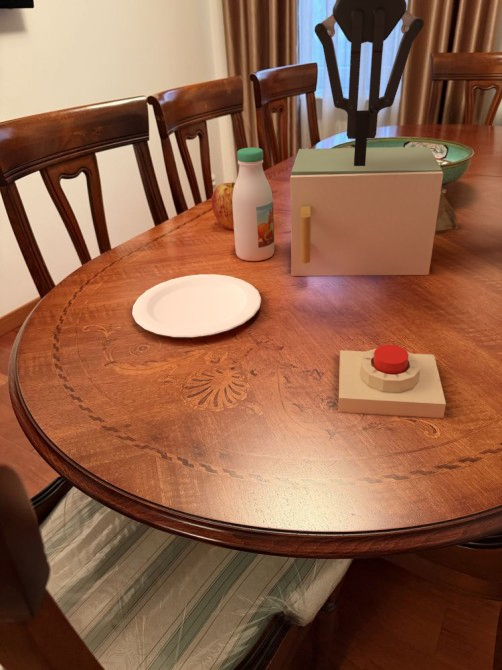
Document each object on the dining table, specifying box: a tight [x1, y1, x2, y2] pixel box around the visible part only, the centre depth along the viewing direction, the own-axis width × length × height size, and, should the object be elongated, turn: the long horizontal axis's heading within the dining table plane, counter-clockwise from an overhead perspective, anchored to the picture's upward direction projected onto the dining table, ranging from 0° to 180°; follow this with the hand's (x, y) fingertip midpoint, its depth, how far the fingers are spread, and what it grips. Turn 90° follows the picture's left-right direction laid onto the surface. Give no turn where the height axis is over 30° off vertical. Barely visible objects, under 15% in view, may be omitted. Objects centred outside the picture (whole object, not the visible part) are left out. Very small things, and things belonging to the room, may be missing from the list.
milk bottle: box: [232, 147, 275, 262], centre depth 97 cm, size 8×8×20 cm
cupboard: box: [290, 146, 443, 176], centre depth 96 cm, size 16×24×18 cm, turn 81°
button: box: [373, 344, 409, 375], centre depth 63 cm, size 4×4×2 cm
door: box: [289, 170, 444, 277], centre depth 86 cm, size 6×24×18 cm, turn 85°
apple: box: [211, 181, 236, 231], centre depth 114 cm, size 9×9×10 cm
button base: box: [337, 347, 447, 419], centre depth 64 cm, size 12×10×4 cm
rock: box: [434, 191, 459, 236], centre depth 105 cm, size 11×9×10 cm
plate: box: [131, 273, 262, 339], centre depth 84 cm, size 21×21×2 cm
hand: (359, 163), depth 71 cm, fingers closed
